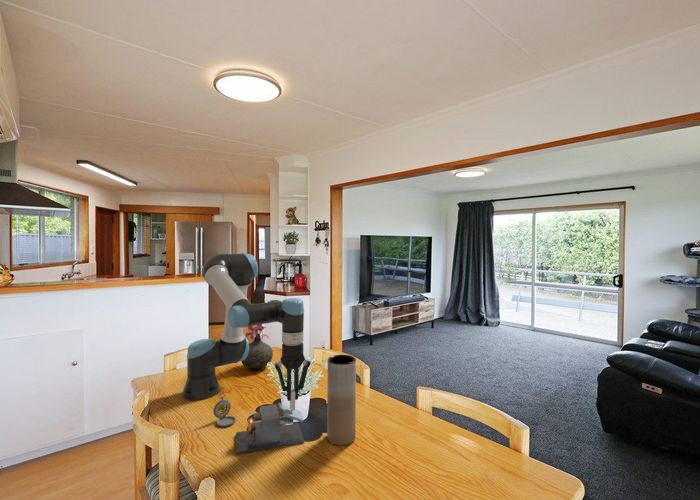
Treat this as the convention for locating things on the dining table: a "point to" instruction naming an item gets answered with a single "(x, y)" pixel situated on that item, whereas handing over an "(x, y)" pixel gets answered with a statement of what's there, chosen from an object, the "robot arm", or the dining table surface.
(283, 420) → the pin
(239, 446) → the hitch block
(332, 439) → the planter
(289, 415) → the keeper
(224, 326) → the robot arm
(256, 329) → the vase
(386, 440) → the dining table surface
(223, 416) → the pocket watch
